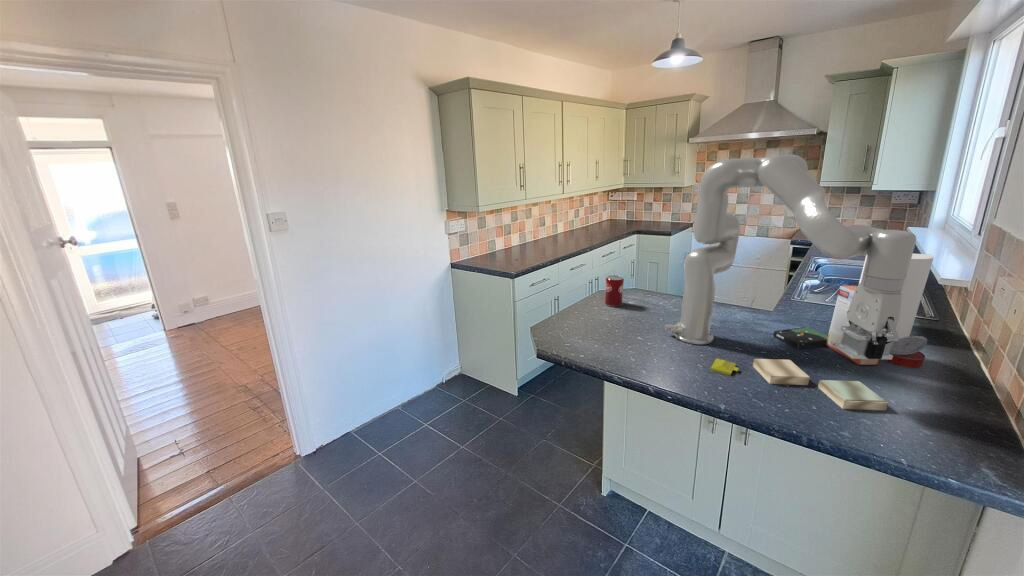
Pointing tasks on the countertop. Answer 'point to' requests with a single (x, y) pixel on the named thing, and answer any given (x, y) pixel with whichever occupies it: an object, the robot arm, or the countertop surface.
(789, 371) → the stand
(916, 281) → the cylinder
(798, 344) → the disk drive
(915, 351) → the canned food
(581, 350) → the countertop surface
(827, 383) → the stand
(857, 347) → the housing
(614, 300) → the soda can
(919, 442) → the countertop surface
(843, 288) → the cracker box
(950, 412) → the countertop surface
